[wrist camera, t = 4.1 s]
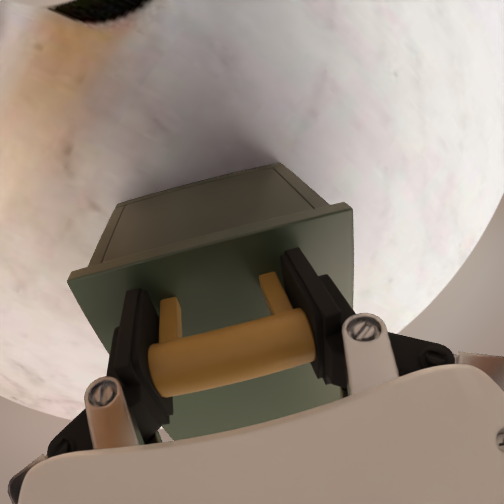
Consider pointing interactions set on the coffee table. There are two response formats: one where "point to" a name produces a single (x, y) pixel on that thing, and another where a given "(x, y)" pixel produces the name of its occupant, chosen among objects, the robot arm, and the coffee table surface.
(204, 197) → the bin
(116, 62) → the coffee table surface
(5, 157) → the coffee table surface
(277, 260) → the bin lid
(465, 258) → the coffee table surface
